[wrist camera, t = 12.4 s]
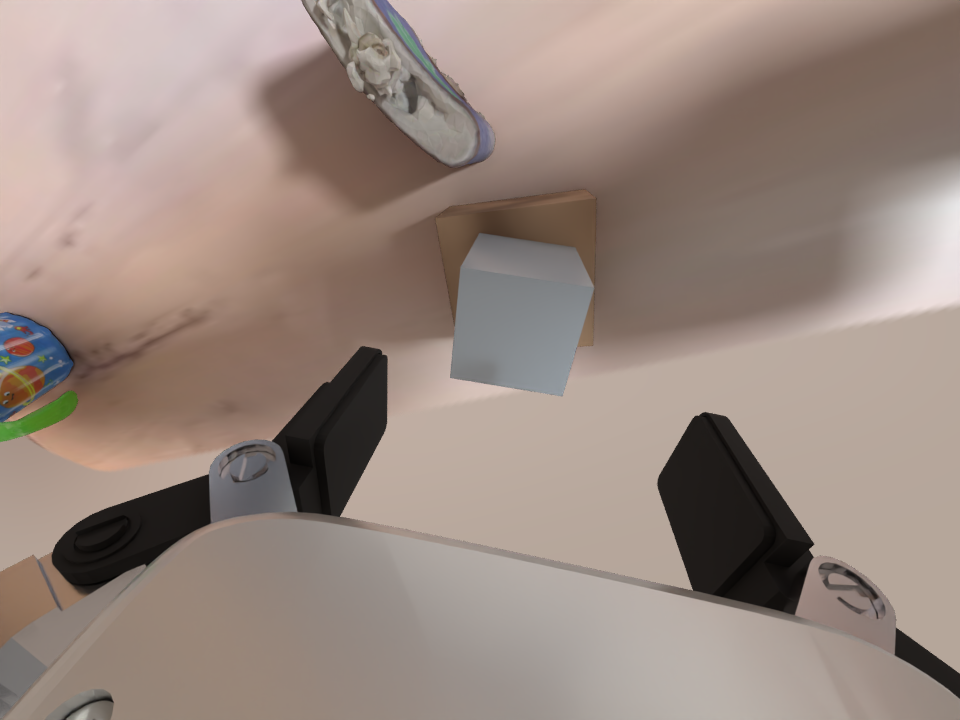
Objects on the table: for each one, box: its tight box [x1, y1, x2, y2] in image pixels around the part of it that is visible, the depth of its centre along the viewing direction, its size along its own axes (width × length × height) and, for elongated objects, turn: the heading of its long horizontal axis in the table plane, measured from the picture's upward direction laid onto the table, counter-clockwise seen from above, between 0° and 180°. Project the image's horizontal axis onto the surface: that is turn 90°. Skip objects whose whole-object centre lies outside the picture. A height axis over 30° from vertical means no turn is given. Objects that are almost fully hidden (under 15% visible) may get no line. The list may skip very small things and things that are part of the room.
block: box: [435, 189, 597, 347], centre depth 25 cm, size 9×9×5 cm
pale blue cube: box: [450, 233, 594, 396], centre depth 20 cm, size 6×6×7 cm
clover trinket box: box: [301, 0, 495, 168], centre depth 18 cm, size 9×3×11 cm, turn 44°
